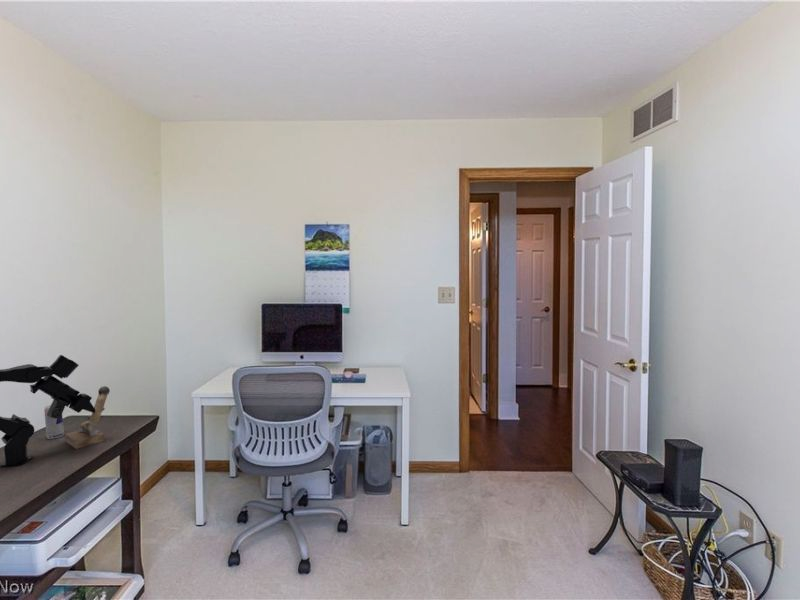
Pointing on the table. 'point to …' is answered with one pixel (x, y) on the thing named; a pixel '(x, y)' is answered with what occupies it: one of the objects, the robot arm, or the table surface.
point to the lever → (99, 406)
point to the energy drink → (53, 426)
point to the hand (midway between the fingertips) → (94, 411)
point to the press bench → (84, 436)
